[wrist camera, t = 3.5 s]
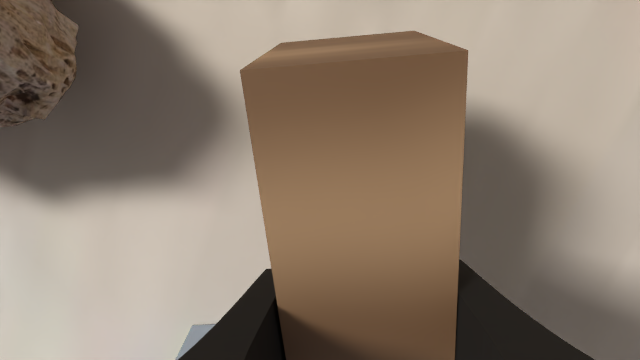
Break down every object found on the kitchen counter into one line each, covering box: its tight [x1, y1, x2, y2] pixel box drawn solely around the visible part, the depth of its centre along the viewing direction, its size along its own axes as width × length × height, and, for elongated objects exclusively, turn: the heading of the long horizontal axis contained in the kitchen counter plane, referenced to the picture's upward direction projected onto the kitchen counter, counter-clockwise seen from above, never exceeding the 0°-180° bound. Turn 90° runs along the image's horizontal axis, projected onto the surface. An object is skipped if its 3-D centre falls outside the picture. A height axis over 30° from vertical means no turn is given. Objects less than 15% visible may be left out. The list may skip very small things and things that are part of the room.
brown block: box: [240, 31, 468, 360], centre depth 11 cm, size 13×4×5 cm, turn 5°
